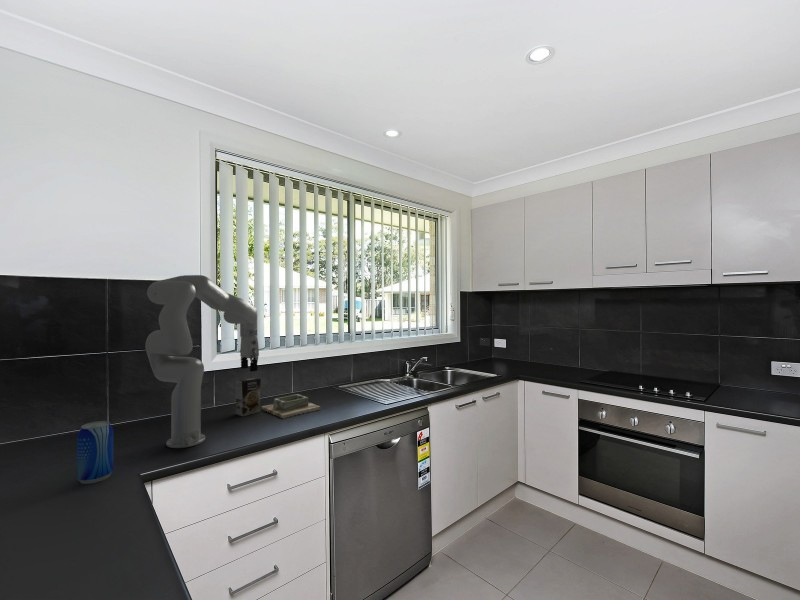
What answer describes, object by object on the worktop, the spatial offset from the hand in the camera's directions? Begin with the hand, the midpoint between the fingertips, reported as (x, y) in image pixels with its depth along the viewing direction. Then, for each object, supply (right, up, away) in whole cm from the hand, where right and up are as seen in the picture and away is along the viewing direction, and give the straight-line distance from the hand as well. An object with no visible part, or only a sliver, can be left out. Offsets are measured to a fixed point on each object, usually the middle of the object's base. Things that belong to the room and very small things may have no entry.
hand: (249, 369), depth 177 cm
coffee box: (0, -21, -1) cm, 21 cm away
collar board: (+18, -20, +5) cm, 28 cm away
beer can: (-20, -20, -65) cm, 71 cm away
